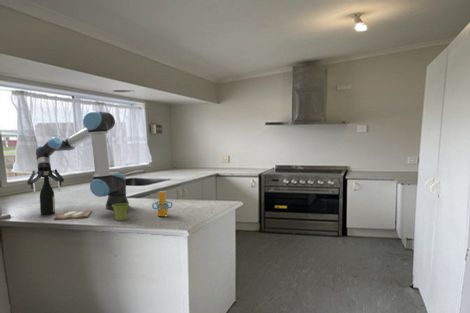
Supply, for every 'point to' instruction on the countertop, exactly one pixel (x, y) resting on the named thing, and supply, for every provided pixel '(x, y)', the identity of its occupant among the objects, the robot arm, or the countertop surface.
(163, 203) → the orange block with loops
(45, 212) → the wine bottle
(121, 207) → the plant pot
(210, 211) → the countertop surface
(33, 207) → the countertop surface
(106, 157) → the robot arm
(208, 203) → the countertop surface
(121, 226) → the countertop surface
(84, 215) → the board
